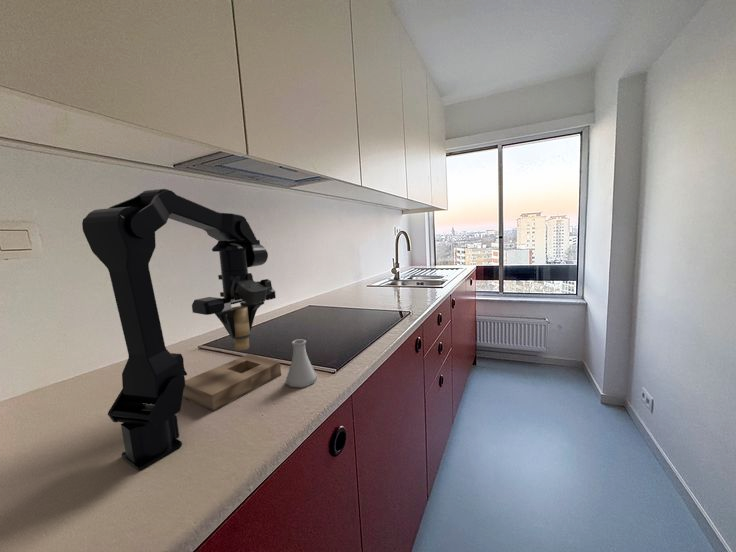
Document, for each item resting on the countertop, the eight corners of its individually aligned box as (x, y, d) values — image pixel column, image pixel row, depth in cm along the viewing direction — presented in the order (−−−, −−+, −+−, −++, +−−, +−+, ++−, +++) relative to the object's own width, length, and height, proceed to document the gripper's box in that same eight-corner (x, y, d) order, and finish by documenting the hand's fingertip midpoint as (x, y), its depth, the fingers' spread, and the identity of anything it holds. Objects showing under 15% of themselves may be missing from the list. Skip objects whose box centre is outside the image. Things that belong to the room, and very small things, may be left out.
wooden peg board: (213, 411, 62) (212, 395, 61) (182, 397, 68) (180, 382, 67) (281, 375, 77) (280, 361, 76) (250, 366, 83) (249, 353, 83)
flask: (279, 385, 72) (276, 344, 70) (299, 372, 78) (297, 334, 77) (303, 391, 68) (300, 348, 67) (322, 377, 75) (320, 338, 73)
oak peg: (229, 349, 73) (225, 309, 72) (244, 344, 77) (240, 305, 75) (240, 352, 71) (236, 310, 70) (255, 346, 74) (251, 306, 73)
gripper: (217, 276, 59) (226, 353, 61) (288, 266, 75) (293, 327, 77) (186, 274, 65) (195, 344, 67) (258, 265, 81) (263, 322, 83)
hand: (240, 334), depth 73 cm, fingers closed on oak peg, 4 cm apart
